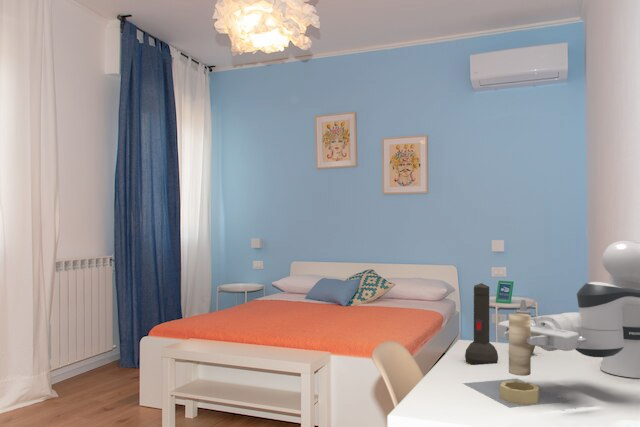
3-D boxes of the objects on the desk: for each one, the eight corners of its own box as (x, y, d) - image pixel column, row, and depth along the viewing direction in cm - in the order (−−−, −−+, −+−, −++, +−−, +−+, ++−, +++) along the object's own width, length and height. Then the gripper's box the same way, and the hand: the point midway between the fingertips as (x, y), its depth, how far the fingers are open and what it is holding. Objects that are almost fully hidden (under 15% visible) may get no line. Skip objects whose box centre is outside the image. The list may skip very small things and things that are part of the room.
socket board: (516, 382, 150) (516, 367, 151) (569, 405, 131) (569, 388, 131) (462, 387, 146) (462, 372, 146) (509, 411, 126) (509, 394, 126)
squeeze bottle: (538, 357, 179) (538, 302, 180) (512, 355, 181) (512, 301, 181) (533, 351, 187) (533, 299, 188) (509, 350, 189) (509, 298, 189)
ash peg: (518, 369, 136) (518, 312, 137) (535, 374, 132) (535, 315, 132) (504, 371, 134) (504, 314, 134) (520, 376, 130) (520, 317, 130)
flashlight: (471, 357, 178) (460, 363, 170) (471, 280, 179) (460, 283, 171) (502, 362, 173) (492, 368, 165) (502, 282, 173) (492, 285, 165)
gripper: (590, 353, 132) (556, 360, 124) (517, 338, 149) (483, 343, 141) (590, 326, 132) (556, 332, 124) (517, 314, 149) (483, 319, 141)
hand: (517, 338), depth 133 cm, fingers closed on ash peg, 5 cm apart
